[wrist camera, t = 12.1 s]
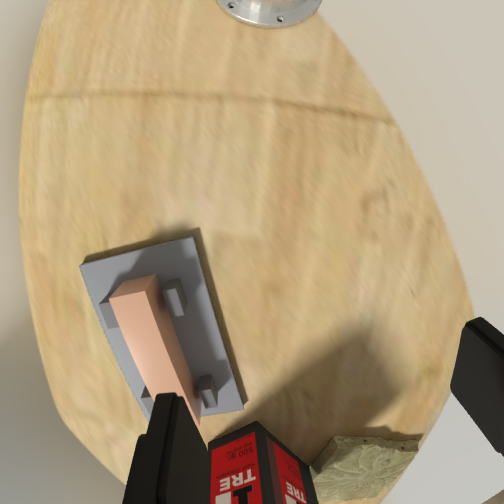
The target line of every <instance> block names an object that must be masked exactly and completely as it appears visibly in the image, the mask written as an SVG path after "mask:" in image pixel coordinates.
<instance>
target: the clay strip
mask: <svg viewBox="0 0 504 504" xmlns="http://www.w3.org/2000/svg"><path fill="white" fill-rule="evenodd" d="M109 301H110V303H111V306H112V309H113V311H114V314H115V317H116V319H117V322H118V324H119V327H120V329H121V331H122V334H123V336H124V339H125V341H126V343H127V346H128V348H129V350H130V353H131V355H132V357H133V359H134V362H135V364H136V366H137V368H138V370H139V372H140V374H141V377H142V379H143V381H144V383H145V385H146V387H147V389H148V391H149V393H150V395H151V397H152V399H153V401H155V397H156V395H157V394H158V393H169V392H176V393H177V395H178V396H183V397H184V399H185V402H186V404H187V406H188V409H189V411H190V413H191V415H192V417H193V420H194V422H195V424H196V426H200V416H201V405H202V399H201V397H200V394H199V392H198V389H197V387H196V384H195V382H194V379H193V377H192V374H191V372H190V369H189V367H188V364H187V361H186V359H185V356H184V354H183V351H182V348H181V346H180V343H179V340H178V337H177V335H176V332H175V329H174V326H173V323H172V321H171V318H170V315H169V312H168V309H167V306H166V303H165V300H164V297H163V294H162V291H161V288H160V285H159V282H158V278H157V275H156V274H154V275H149V276H145V277H140V278H136V279H132V280H127V281H123V283H122V284H121V285H120V286H119V287H118V288H117V290H116V291H115V292H114V293H113V294H112V295H111V297H110V298H109Z"/></svg>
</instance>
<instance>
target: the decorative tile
mask: <svg viewBox="0 0 504 504" xmlns="http://www.w3.org/2000/svg"><path fill="white" fill-rule="evenodd" d="M418 451H419V450H418V441H417V440H413V439H410V440H406V441H393V440H385V439H382V438H381V437H372V436H370V437H368V436H364V437H363V436H362V437H353V436H350V437H347V436H334V437H333V438H332V439H331V440H330V442H329V443H328V444H327V446H326V447H325V448H324V450H323V451H322V452H321V454H320V455H319V456H318V458H317V459H316V460H315V461H314V463H313V464H312V465H311V467H310V472H311V476H312V480H313V483H314V487H315V491H316V495H317V499H318V502H325V501H349V500H356V499H369V498H374V497H377V496H378V495H379V494H380V493H381V492H383V491H384V490H385V489H386V488H388V487H389V486H390V484H391V483H392V482H394V480H395V479H396V478H397V477H398V476H399V475H400V474H401V473H402V472H403V470H404V469H405V468H406V467H407V466H408V465H409V464H410V463H411V462H412V460H413V459H414V457H415V455H416V454H417V453H418Z"/></svg>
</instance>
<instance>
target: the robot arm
mask: <svg viewBox="0 0 504 504" xmlns="http://www.w3.org/2000/svg"><path fill="white" fill-rule="evenodd" d="M216 1H217V3H218V5H219V6H220V7H221V8H222V9H223V10H224V11H225V12H226V13H227V14H229V15H230V16H231V17H233V18H235V19H237V20H239V21H240V22H243V23H246V24H249V25H252V26H257V27H262V28H284V27H288V26H293V25H296V24H298V23H301V22H303V21H305V20H306V19H308V18H309V17H311V16H312V15H313V14H314V13H315V12H316V10H317V9H318V7H319V6H320V4H321V2H322V0H216ZM231 7H232V8H231ZM279 21H281V22H279ZM450 388H451V392H452V393H453V395H454V396H455V397H456V398H457V400H458V401H459V402H460V404H461V405H462V406H463V407H464V409H465V410H466V411H467V412H468V414H469V415H470V417H471V418H472V419H473V421H474V422H475V423H476V425H477V426H478V427H479V428H480V430H481V431H482V433H483V434H484V435H485V437H486V438H487V439H488V441H489V442H490V443H491V445H492V446H493V447H494V449H495V450H496V451H497V452H498V453H501V454H502V455H503V456H504V335H503V334H502V333H501V332H500V331H498V330H497V329H496V328H495V327H494V326H492V325H491V324H490V323H489V322H487V321H486V320H485V319H484V318H482V317H478V318H475V319H473V320H470V321H468V322H466V324H465V326H464V328H463V329H462V333H461V339H460V344H459V349H458V354H457V358H456V363H455V367H454V371H453V376H452V380H451V384H450ZM207 467H208V452H207V448H206V445H205V443H204V441H203V439H202V437H201V435H200V433H199V431H198V428H197V426H196V424H195V422H194V420H193V417H192V415H191V413H190V411H189V409H188V406H187V404H186V402H185V399H184V397H183V396H178V395H177V393H176V392H169V393H158V394H157V395H156V397H155V401H154V405H153V409H152V413H151V417H150V421H149V425H148V429H147V433H146V434H141V435H140V436H139V438H138V440H137V444H136V448H135V452H134V456H133V460H132V464H131V468H130V472H129V476H128V481H127V485H126V489H125V494H124V499H123V503H122V504H206V497H207ZM482 504H504V490H502V491H501V492H499V493H498V494H496V495H495V496H493V497H491V498H490V499H488V500H487V501H485V502H484V503H482Z"/></svg>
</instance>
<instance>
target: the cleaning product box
mask: <svg viewBox="0 0 504 504" xmlns="http://www.w3.org/2000/svg"><path fill="white" fill-rule="evenodd" d="M206 504H319V503H318V499H317V495H316V491H315V487H314V483H313V480H312V476H311V472H310V468H309V466H307V465H306V464H305V463H304V462H303V461H301V460H300V459H299V458H298V457H297V456H295V455H294V454H293V453H292V452H291V451H290V450H289V449H287V448H286V447H285V446H284V445H283V444H282V443H281V442H279V441H278V440H277V439H276V438H275V437H274V436H273V435H272V434H271V433H269V432H268V431H267V430H266V429H265V428H264V427H263V426H262V425H261V424H260V423H259V422H258V421H255V422H253V423H251V424H249V425H247V426H245V427H243V428H240V429H238V430H236V431H234V432H232V433H229V434H227V435H225V436H223V437H220V438H218V439H216V440H213V441H211V442H209V443H208V467H207V497H206Z"/></svg>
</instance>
